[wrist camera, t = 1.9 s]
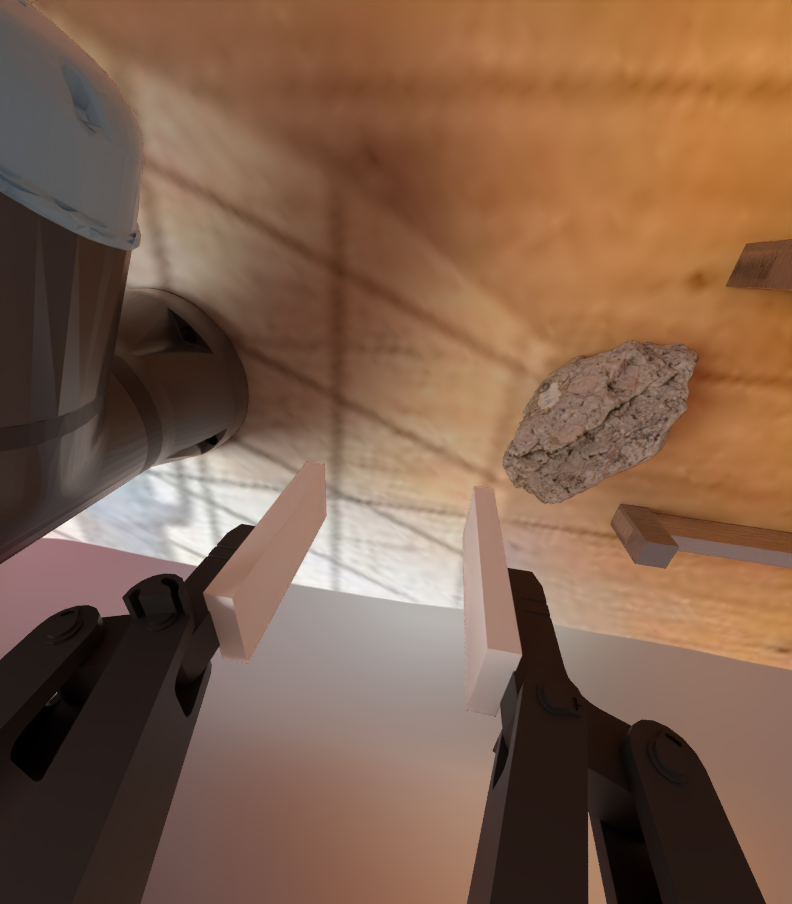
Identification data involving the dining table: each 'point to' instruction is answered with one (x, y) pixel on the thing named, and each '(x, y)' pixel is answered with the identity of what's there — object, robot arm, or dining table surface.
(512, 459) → the rock
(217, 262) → the dining table surface
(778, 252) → the frame
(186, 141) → the dining table surface
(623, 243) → the dining table surface
